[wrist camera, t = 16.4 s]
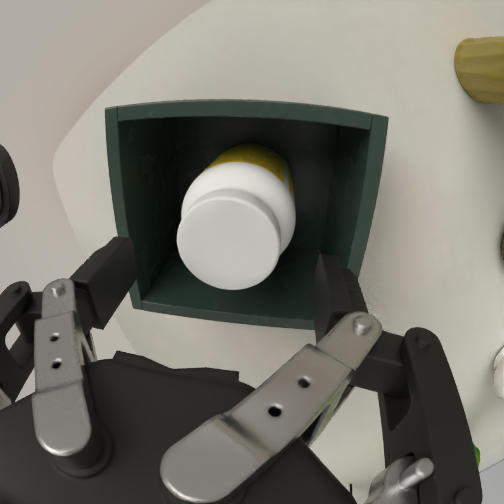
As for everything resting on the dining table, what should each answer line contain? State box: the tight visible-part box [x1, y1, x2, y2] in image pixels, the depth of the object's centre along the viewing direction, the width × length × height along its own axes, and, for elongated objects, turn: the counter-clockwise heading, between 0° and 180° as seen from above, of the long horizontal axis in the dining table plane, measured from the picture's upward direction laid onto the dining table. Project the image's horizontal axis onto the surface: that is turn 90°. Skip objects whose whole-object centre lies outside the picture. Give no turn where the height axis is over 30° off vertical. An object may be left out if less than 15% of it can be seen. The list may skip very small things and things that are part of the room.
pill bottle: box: [177, 142, 296, 290], centre depth 18 cm, size 6×6×11 cm
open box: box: [105, 99, 389, 330], centre depth 19 cm, size 14×13×10 cm
